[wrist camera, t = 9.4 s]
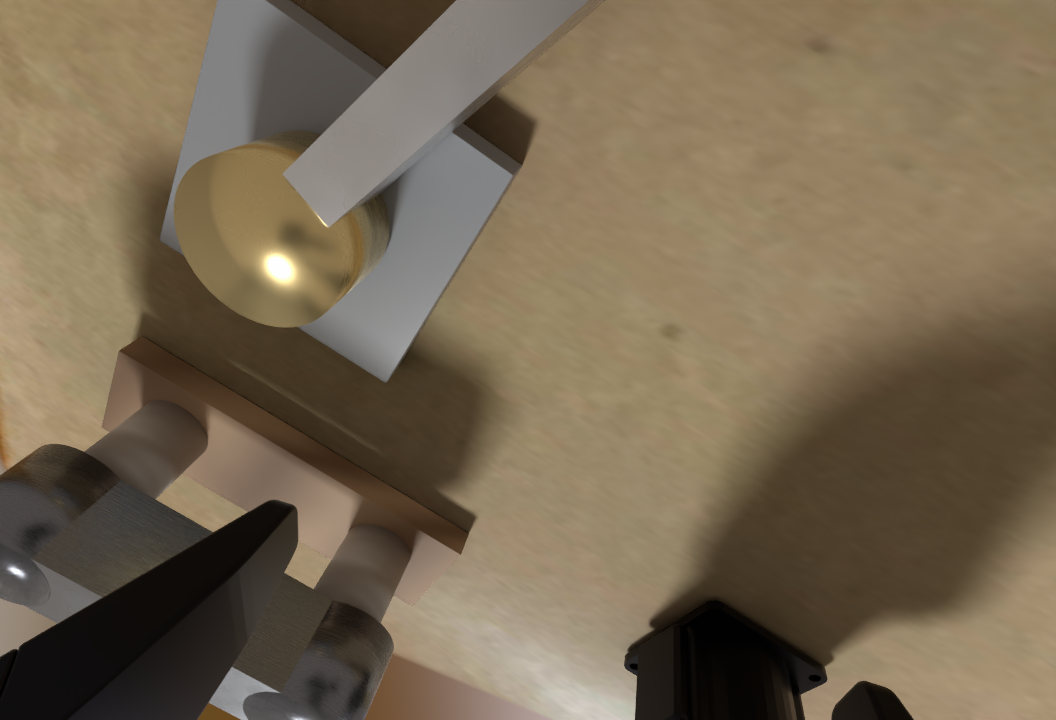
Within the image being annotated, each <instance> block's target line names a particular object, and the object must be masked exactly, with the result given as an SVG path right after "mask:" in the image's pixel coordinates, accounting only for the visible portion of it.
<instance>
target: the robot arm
mask: <svg viewBox="0 0 1056 720" xmlns="http://www.w3.org/2000/svg"><path fill="white" fill-rule="evenodd" d="M297 544H298V511H297V508H296V507H295V506H294V505H292V504H289V503H286V502H283V501H279V500H274V499H273V500H269V501H267V502H265V503H263V504H261V505H260V506H258V507H256V508H254V509H253V510H251V511H249V512H248V513H246V514H244V515H242V516H241V517H239V518H237V519H236V520H234V521H232V522H230V523H229V524H227V525H225V526H224V527H222V528H220V529H218V530H217V531H215V532H213V533H212V534H210V535H208V536H207V537H205V538H203V539H201V540H200V541H198V542H196V543H195V544H193V545H191V546H189V547H188V548H186V549H184V550H183V551H181V552H179V553H177V554H176V555H174V556H172V557H171V558H169V559H167V560H165V561H164V562H162V563H160V564H159V565H157V566H155V567H153V568H152V569H150V570H148V571H147V572H145V573H143V574H141V575H140V576H138V577H136V578H135V579H133V580H131V581H130V582H128V583H126V584H124V585H123V586H121V587H119V588H118V589H116V590H114V591H112V592H111V593H109V594H107V595H106V596H104V597H102V598H100V599H99V600H97V601H95V602H94V603H92V604H90V605H88V606H87V607H85V608H83V609H82V610H80V611H78V612H76V613H75V614H73V615H71V616H70V617H68V618H66V619H64V620H63V621H61V622H59V623H58V624H56V625H54V626H53V627H51V628H49V629H48V630H46V631H44V632H42V633H41V634H39V635H37V636H35V637H34V638H32V639H30V640H29V641H27V642H25V643H23V644H22V645H21V646H20V647H19V649H18V650H17V649H13V650H11V651H10V652H8V653H6V654H4V655H2V656H1V657H0V720H197V719H198V718H199V716H200V715H201V713H202V712H203V710H204V709H205V707H206V706H207V704H208V703H209V701H210V700H211V698H212V696H213V695H214V693H215V692H216V690H217V689H218V687H219V686H220V684H221V683H222V681H223V680H224V678H225V677H226V675H227V674H228V672H229V671H230V669H231V668H232V666H233V664H234V663H235V661H236V660H237V658H238V657H239V655H240V654H241V652H242V650H243V649H244V647H245V646H246V644H247V642H248V641H249V639H250V637H251V635H252V633H253V631H254V630H255V628H256V626H257V624H258V622H259V620H260V618H261V616H262V614H263V612H264V610H265V608H266V606H267V605H268V603H269V601H270V599H271V597H272V595H273V593H274V591H275V589H276V587H277V585H278V583H279V581H280V579H281V578H282V576H283V574H284V572H285V570H286V568H287V566H288V564H289V562H290V560H291V558H292V556H293V554H294V552H295V550H296V547H297ZM624 666H625V668H626V669H627V670H628V671H630V672H631V673H633V674H635V675H636V676H637V691H636V711H635V720H805V717H804V711H803V706H802V701H801V694H803V693H805V692H807V691H809V690H811V689H813V688H815V687H818V686H820V685H822V684H824V683H825V682H826V681H827V675H826V671H825V667H823V666H822V665H821V664H819V663H818V662H816V661H815V660H813V659H811V658H810V657H808V656H807V655H805V654H803V653H802V652H800V651H799V650H797V649H795V648H794V647H792V646H791V645H789V644H787V643H786V642H784V641H783V640H781V639H780V638H778V637H776V636H775V635H773V634H772V633H770V632H768V631H767V630H765V629H764V628H762V627H760V626H759V625H757V624H756V623H754V622H752V621H751V620H749V619H748V618H746V617H744V616H743V615H741V614H740V613H738V612H737V611H735V610H733V609H732V608H730V607H729V606H727V605H725V604H724V603H722V602H719V601H708V602H706V603H704V604H703V605H701V606H700V607H698V608H697V609H695V610H694V611H692V612H691V613H689V614H687V615H686V616H684V617H683V618H681V619H680V620H678V621H677V622H675V623H674V624H672V625H670V626H669V627H667V628H666V629H664V630H663V631H661V632H660V633H658V634H657V635H655V636H654V637H652V638H650V639H649V640H647V641H646V642H644V643H643V644H641V645H640V646H638V647H637V648H635V649H634V650H632V651H630V652H629V653H627V654H626V655H625V663H624ZM831 720H914V719H913V718H912V716H911V715H910V714H909V712H908V711H907V709H906V708H905V707H904V705H903V704H902V703H901V701H900V700H899V698H898V697H897V696H896V695H895V694H894V693H893V692H892V691H891V690H890V689H888V688H886V687H883V686H880V685H877V684H874V683H870V682H867V681H860V682H858V683H857V684H856V685H855V686H854V687H853V688H852V689H851V690H850V691H849V692H848V693H847V694H846V695H845V696H844V697H843V698H842V699H841V700H840V701H839V702H838V703H837V704H836V705H835V707H834V709H833V712H832V718H831Z"/></svg>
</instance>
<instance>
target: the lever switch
mask: <svg viewBox="0 0 1056 720" xmlns="http://www.w3.org/2000/svg"><path fill="white" fill-rule="evenodd" d="M604 1H605V0H456V1H455V2H454V3H453V4H452V5H451V6H450V7H449V8H448V9H447V10H446V11H445V12H444V13H443V14H442V15H441V16H440V17H439V18H438V19H437V20H436V21H435V22H434V23H433V24H432V25H431V26H430V27H429V28H428V29H427V30H426V31H425V32H424V33H423V34H422V35H421V36H420V37H419V38H418V39H417V40H416V41H415V42H414V43H413V44H412V45H411V46H410V47H409V48H408V49H407V50H406V51H405V52H404V53H403V54H402V55H401V56H400V57H399V58H398V59H397V60H396V61H395V62H394V63H393V64H392V65H391V66H390V67H389V68H388V69H387V70H386V71H385V72H384V73H383V74H382V75H381V76H380V77H379V78H378V79H377V80H376V81H375V82H374V83H373V84H372V85H371V86H370V87H369V88H368V89H367V90H366V91H365V92H364V93H363V94H362V95H361V96H360V97H359V98H358V99H357V100H356V101H355V102H354V103H353V104H352V105H351V106H350V107H349V108H348V109H347V110H346V111H345V112H344V113H343V114H342V115H341V116H340V117H339V118H338V119H337V120H336V121H335V122H334V123H333V124H332V125H331V126H330V127H329V128H328V129H327V130H326V131H325V132H324V133H323V134H322V135H321V134H317V133H313V132H309V131H300V130H296V131H286V132H281V133H278V134H275V135H271V136H268V137H265V138H262V139H259V140H256V141H253V142H250V143H247V144H244V145H241V146H238V147H235V148H232V149H229V150H226V151H223V152H220V153H217V154H214V155H211V156H208V157H206V158H203V159H202V160H200V161H198V162H197V163H195V164H194V165H193V166H192V167H191V168H190V169H189V170H188V171H187V172H186V173H185V175H184V176H183V177H182V179H181V181H180V183H179V185H178V187H177V191H176V194H175V199H174V208H173V209H174V224H175V230H176V234H177V238H178V241H179V244H180V246H181V249H182V252H183V254H184V256H185V258H186V260H187V262H188V263H189V265H190V267H191V268H192V270H193V271H194V273H195V274H196V276H197V277H198V278H199V280H200V281H201V282H202V283H203V285H204V286H205V287H206V288H207V289H208V290H209V291H210V292H211V293H212V294H213V295H214V296H215V297H216V298H217V299H218V300H220V301H221V302H222V303H223V304H225V305H226V306H227V307H229V308H230V309H232V310H233V311H235V312H236V313H238V314H240V315H242V316H244V317H246V318H248V319H250V320H253V321H255V322H257V323H261V324H264V325H268V326H274V327H286V328H289V327H298V326H302V325H306V324H309V323H311V322H313V321H315V320H317V319H318V318H320V317H321V316H323V315H324V314H325V313H326V312H327V311H328V310H329V309H331V308H332V307H333V306H334V305H335V304H336V303H337V302H338V301H339V300H341V299H342V298H343V297H344V296H345V295H346V294H347V293H348V292H349V291H351V290H352V289H353V288H354V287H355V286H356V285H357V284H358V283H360V282H361V281H362V280H363V279H364V278H365V277H366V276H367V275H368V274H370V273H371V272H372V271H373V270H374V269H375V268H376V266H377V265H378V264H379V263H380V261H381V259H382V257H383V255H384V253H385V250H386V247H387V243H388V238H389V218H388V212H387V207H386V204H385V201H384V198H383V195H382V192H383V191H384V190H385V189H386V188H387V187H389V186H390V185H391V184H392V183H393V182H394V181H395V180H397V179H398V178H399V177H400V176H401V175H402V174H404V173H405V172H406V171H407V170H408V169H409V168H411V167H412V166H413V165H414V164H415V163H416V162H418V161H419V160H420V159H421V158H422V157H423V156H425V155H426V154H427V153H428V152H429V151H430V150H432V149H433V148H434V147H435V146H436V145H437V144H439V143H440V142H441V141H442V140H443V139H444V138H445V137H447V136H448V135H449V134H450V133H451V132H452V131H454V130H455V129H456V128H457V127H458V126H459V125H461V124H462V123H463V122H464V121H465V120H466V119H468V118H469V117H470V116H471V115H472V114H473V113H475V112H476V111H477V110H478V109H479V108H480V107H482V106H483V105H484V104H485V103H486V102H487V101H489V100H490V99H491V98H492V97H493V96H494V95H495V94H497V93H498V92H499V91H500V90H501V89H502V88H504V87H505V86H506V85H507V84H508V83H509V82H511V81H512V80H513V79H514V78H515V77H516V76H518V75H519V74H520V73H521V72H522V71H523V70H525V69H526V68H527V67H528V66H529V65H530V64H532V63H533V62H534V61H535V60H536V59H537V58H539V57H540V56H541V55H542V54H543V53H544V52H545V51H547V50H548V49H549V48H550V47H551V46H552V45H554V44H555V43H556V42H557V41H558V40H559V39H561V38H562V37H563V36H564V35H565V34H566V33H568V32H569V31H570V30H571V29H572V28H573V27H575V26H576V25H577V24H578V23H579V22H580V21H582V20H583V19H584V18H585V17H586V16H587V15H589V14H590V13H591V12H592V11H593V10H594V9H595V8H597V7H598V6H599V5H600V4H601V3H602V2H604Z"/></svg>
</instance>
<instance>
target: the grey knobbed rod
mask: <svg viewBox="0 0 1056 720" xmlns="http://www.w3.org/2000/svg"><path fill="white" fill-rule="evenodd" d="M212 533H213V532H211V531H210V530H208V529H206V528H204V527H203V526H201V525H199V524H197V523H196V522H194V521H192V520H190V519H189V518H187V517H185V516H183V515H182V514H180V513H178V512H176V511H175V510H173V509H171V508H169V507H168V506H166V505H164V504H162V503H160V502H159V501H157V500H155V499H153V498H152V497H150V496H148V495H146V494H145V493H143V492H141V491H139V490H138V489H136V488H134V487H132V486H131V485H129V484H127V483H125V482H124V481H122V480H121V479H120V478H119V477H118V476H117V475H116V474H115V473H114V472H113V471H112V470H111V469H109V468H108V467H107V466H106V465H105V464H103V463H102V462H100V461H99V460H97V459H96V458H94V457H93V456H91V455H89V454H87V453H85V452H83V451H81V450H78V449H76V448H73V447H70V446H66V445H60V444H48V445H44V446H41V447H40V448H38V449H37V450H35V451H34V452H32V453H31V454H30V455H28V456H27V457H25V458H24V459H22V460H21V461H20V462H18V463H17V464H15V465H14V466H13V467H11V468H10V469H8V470H7V471H5V472H4V473H3V474H1V475H0V598H1V599H4V600H7V601H9V602H13V603H16V604H20V605H24V606H26V607H28V608H30V609H32V610H33V611H36V612H37V613H39V614H41V615H43V616H45V617H47V618H49V619H51V620H53V621H54V622H56V623H59V622H61V621H63V620H64V619H66V618H68V617H70V616H71V615H73V614H75V613H76V612H78V611H80V610H82V609H83V608H85V607H87V606H88V605H90V604H92V603H94V602H95V601H97V600H99V599H100V598H102V597H104V596H106V595H107V594H109V593H111V592H112V591H114V590H116V589H118V588H119V587H121V586H123V585H124V584H126V583H128V582H130V581H131V580H133V579H135V578H136V577H138V576H140V575H141V574H143V573H145V572H147V571H148V570H150V569H152V568H153V567H155V566H157V565H159V564H160V563H162V562H164V561H165V560H167V559H169V558H171V557H172V556H174V555H176V554H177V553H179V552H181V551H183V550H184V549H186V548H188V547H189V546H191V545H193V544H195V543H196V542H198V541H200V540H201V539H203V538H205V537H207V536H208V535H210V534H212ZM393 650H394V645H393V641H392V638H391V636H390V634H389V633H388V631H387V630H386V629H385V628H384V626H383V625H382V624H381V623H380V622H378V621H377V620H376V619H375V618H373V617H372V616H371V615H369V614H367V613H366V612H364V611H362V610H360V609H358V608H356V607H354V606H351V605H349V604H346V603H342V602H338V601H333V600H331V599H329V598H327V597H326V596H324V595H322V594H320V593H319V592H317V591H315V590H313V589H312V588H310V587H308V586H306V585H305V584H303V583H301V582H299V581H298V580H296V579H294V578H292V577H291V576H289V575H287V574H285V573H284V574H283V576H282V578H281V579H280V581H279V583H278V585H277V587H276V589H275V591H274V593H273V595H272V597H271V599H270V601H269V603H268V605H267V606H266V608H265V610H264V612H263V614H262V616H261V618H260V620H259V622H258V624H257V626H256V628H255V630H254V631H253V633H252V635H251V637H250V639H249V641H248V642H247V644H246V646H245V647H244V649H243V650H242V652H241V654H240V655H239V657H238V658H237V660H236V661H235V663H234V664H233V666H232V668H231V669H230V671H229V672H228V674H227V675H226V677H225V678H224V680H223V681H222V683H221V684H220V686H219V687H218V689H217V690H216V692H215V693H214V695H213V696H212V698H211V700H210V701H209V703H211V704H212V705H215V706H216V707H218V708H220V709H222V710H224V711H226V712H228V713H230V714H232V715H233V716H235V717H237V718H239V719H241V720H364V719H365V717H366V714H367V712H368V710H369V708H370V705H371V703H372V701H373V698H374V696H375V694H376V691H377V689H378V687H379V684H380V682H381V680H382V677H383V675H384V673H385V670H386V668H387V665H388V663H389V661H390V659H391V656H392V654H393Z"/></svg>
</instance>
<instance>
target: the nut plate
mask: <svg viewBox="0 0 1056 720" xmlns="http://www.w3.org/2000/svg"><path fill="white" fill-rule="evenodd" d="M386 70H387V69H386V68H385V67H383V66H382V65H380V64H379V63H378V62H376V61H375V60H373V59H372V58H370V57H369V56H368V55H366V54H365V53H363V52H362V51H361V50H359V49H358V48H356V47H355V46H354V45H352V44H351V43H349V42H348V41H347V40H345V39H344V38H342V37H341V36H340V35H338V34H337V33H335V32H334V31H333V30H331V29H330V28H328V27H327V26H326V25H324V24H323V23H321V22H320V21H319V20H317V19H316V18H314V17H313V16H311V15H310V14H309V13H307V12H306V11H304V10H303V9H302V8H300V7H299V6H297V5H296V4H295V3H293V2H292V1H290V0H218V1H217V5H216V9H215V13H214V17H213V21H212V25H211V30H210V34H209V38H208V42H207V46H206V50H205V54H204V58H203V62H202V67H201V71H200V75H199V79H198V83H197V87H196V91H195V95H194V99H193V104H192V108H191V112H190V116H189V120H188V124H187V128H186V132H185V136H184V141H183V145H182V149H181V153H180V157H179V161H178V165H177V169H176V173H175V177H174V182H173V186H172V190H171V194H170V198H169V202H168V206H167V210H166V214H165V219H164V223H163V227H162V231H161V235H160V239H159V240H160V241H161V242H163V243H164V244H166V245H167V246H169V247H171V248H172V249H174V250H175V251H177V252H179V253H180V254H182V255H183V256H184V254H183V252H182V249H181V246H180V244H179V241H178V238H177V234H176V230H175V224H174V209H173V208H174V199H175V194H176V191H177V187H178V185H179V183H180V181H181V179H182V177H183V176H184V175H185V173H186V172H187V171H188V170H189V169H190V168H191V167H192V166H193V165H194V164H195V163H197V162H198V161H200V160H202V159H203V158H206V157H208V156H211V155H214V154H217V153H220V152H223V151H226V150H229V149H232V148H235V147H238V146H241V145H244V144H247V143H250V142H253V141H256V140H259V139H262V138H265V137H268V136H271V135H275V134H278V133H281V132H286V131H296V130H300V131H309V132H313V133H317V134H321V135H322V134H323V133H324V132H325V131H326V130H327V129H328V128H329V127H330V126H331V125H332V124H333V123H334V122H335V121H336V120H337V119H338V118H339V117H340V116H341V115H342V114H343V113H344V112H345V111H346V110H347V109H348V108H349V107H350V106H351V105H352V104H353V103H354V102H355V101H356V100H357V99H358V98H359V97H360V96H361V95H362V94H363V93H364V92H365V91H366V90H367V89H368V88H369V87H370V86H371V85H372V84H373V83H374V82H375V81H376V80H377V79H378V78H379V77H380V76H381V75H382V74H383V73H384V72H385V71H386ZM521 167H522V165H521V164H519V163H518V162H517V161H515V160H514V159H512V158H511V157H510V156H508V155H507V154H505V153H504V152H503V151H501V150H500V149H498V148H497V147H495V146H494V145H493V144H491V143H490V142H488V141H487V140H486V139H484V138H483V137H481V136H480V135H479V134H477V133H476V132H474V131H473V130H472V129H470V128H469V127H467V126H466V125H465V124H463V123H462V124H461V125H459V126H458V127H457V128H456V129H455V130H454V131H452V132H451V133H450V134H449V135H448V136H447V137H445V138H444V139H443V140H442V141H441V142H440V143H439V144H437V145H436V146H435V147H434V148H433V149H432V150H430V151H429V152H428V153H427V154H426V155H425V156H423V157H422V158H421V159H420V160H419V161H418V162H416V163H415V164H414V165H413V166H412V167H411V168H409V169H408V170H407V171H406V172H405V173H404V174H402V175H401V176H400V177H399V178H398V179H397V180H395V181H394V182H393V183H392V184H391V185H390V186H389V187H387V188H386V189H385V190H384V191H383V192H382V195H383V198H384V201H385V204H386V207H387V212H388V218H389V238H388V243H387V247H386V250H385V253H384V255H383V257H382V259H381V261H380V263H379V264H378V265H377V266H376V268H375V269H374V270H373V271H372V272H371V273H370V274H368V275H367V276H366V277H365V278H364V279H363V280H362V281H361V282H360V283H358V284H357V285H356V286H355V287H354V288H353V289H352V290H351V291H349V292H348V293H347V294H346V295H345V296H344V297H343V298H342V299H341V300H339V301H338V302H337V303H336V304H335V305H334V306H333V307H332V308H331V309H329V310H328V311H327V312H326V313H325V314H324V315H323V316H321V317H320V318H318V319H317V320H315V321H313V322H311V323H309V324H306V325H302V326H298V328H299V329H301V330H302V331H304V332H306V333H307V334H309V335H310V336H312V337H314V338H315V339H317V340H318V341H320V342H321V343H323V344H325V345H326V346H328V347H329V348H331V349H333V350H334V351H336V352H337V353H339V354H340V355H342V356H344V357H345V358H347V359H348V360H350V361H352V362H353V363H355V364H356V365H358V366H360V367H361V368H363V369H364V370H366V371H367V372H369V373H371V374H372V375H374V376H375V377H377V378H379V379H380V380H382V381H383V382H385V383H387V381H388V380H389V379H390V377H391V376H392V375H393V373H394V372H395V371H396V369H397V368H398V367H399V365H400V363H401V362H402V360H403V359H404V357H405V355H406V354H407V352H408V350H409V349H410V347H411V346H412V344H413V342H414V341H415V339H416V337H417V336H418V334H419V333H420V331H421V329H422V328H423V326H424V324H425V323H426V321H427V320H428V318H429V316H430V315H431V313H432V311H433V310H434V308H435V307H436V305H437V303H438V302H439V300H440V298H441V297H442V295H443V294H444V292H445V290H446V289H447V287H448V285H449V284H450V282H451V281H452V279H453V277H454V276H455V274H456V272H457V271H458V269H459V268H460V266H461V264H462V263H463V261H464V259H465V258H466V256H467V255H468V253H469V251H470V250H471V248H472V246H473V245H474V243H475V242H476V240H477V238H478V237H479V235H480V233H481V232H482V230H483V229H484V227H485V225H486V224H487V222H488V220H489V219H490V217H491V216H492V214H493V212H494V211H495V209H496V207H497V206H498V204H499V203H500V201H501V199H502V198H503V196H504V194H505V193H506V191H507V190H508V188H509V186H510V185H511V183H512V181H513V180H514V178H515V177H516V175H517V173H518V172H519V170H520V168H521Z"/></svg>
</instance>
